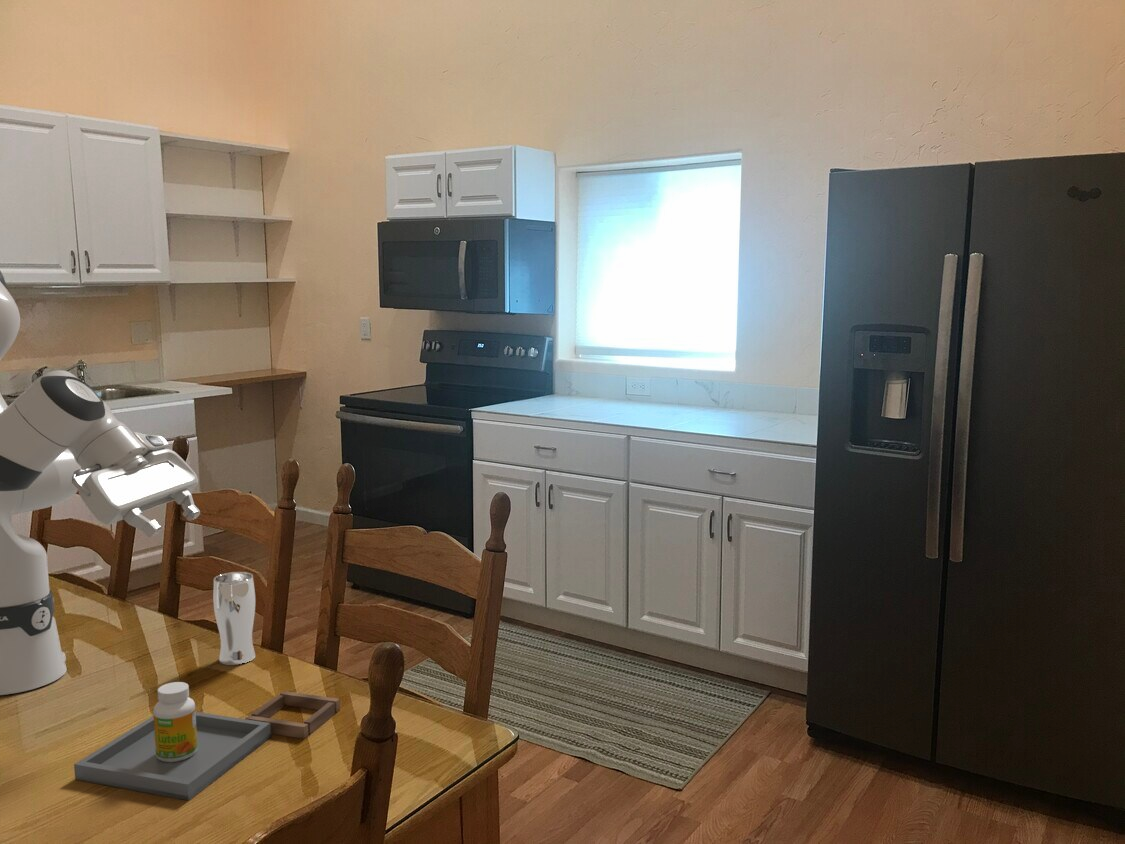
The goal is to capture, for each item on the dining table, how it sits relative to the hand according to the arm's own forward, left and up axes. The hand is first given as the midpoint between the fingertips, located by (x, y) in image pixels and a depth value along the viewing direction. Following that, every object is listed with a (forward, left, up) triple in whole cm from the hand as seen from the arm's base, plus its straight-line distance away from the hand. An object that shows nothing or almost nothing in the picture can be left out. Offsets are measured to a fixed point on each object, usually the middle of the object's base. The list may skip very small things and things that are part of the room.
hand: (176, 525), depth 142 cm
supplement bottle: (+9, -14, -29) cm, 33 cm away
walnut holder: (+18, +1, -29) cm, 35 cm away
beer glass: (-5, +19, -30) cm, 36 cm away
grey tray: (+9, -14, -29) cm, 34 cm away
